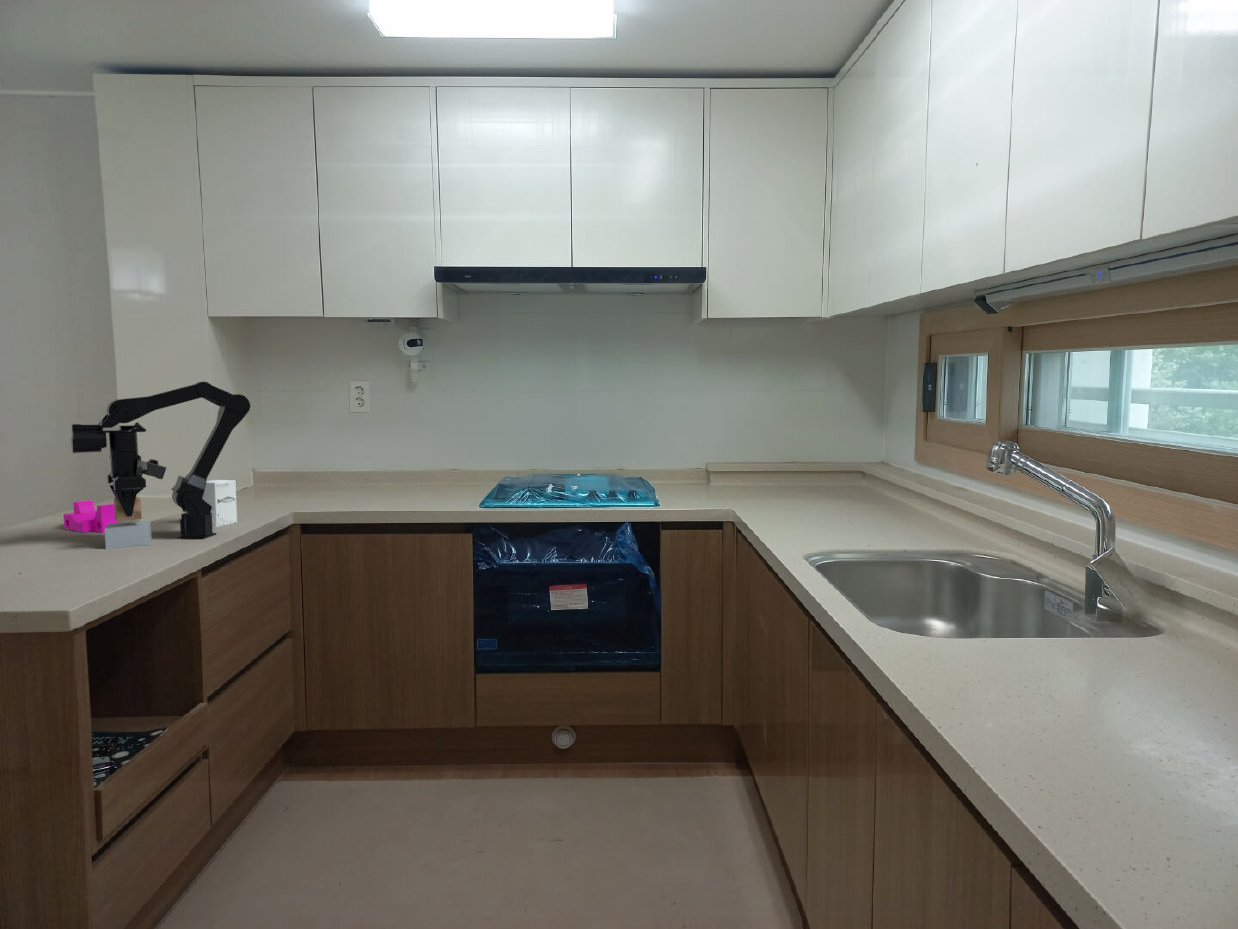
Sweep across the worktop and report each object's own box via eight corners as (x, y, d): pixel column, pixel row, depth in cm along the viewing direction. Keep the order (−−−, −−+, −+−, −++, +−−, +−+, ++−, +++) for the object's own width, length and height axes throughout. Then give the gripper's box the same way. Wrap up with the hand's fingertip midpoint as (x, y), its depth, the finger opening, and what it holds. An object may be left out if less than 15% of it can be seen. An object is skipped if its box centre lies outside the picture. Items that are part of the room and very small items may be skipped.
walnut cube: (138, 516, 188) (137, 496, 188) (141, 519, 184) (140, 498, 184) (114, 518, 185) (113, 498, 185) (117, 521, 181) (115, 500, 181)
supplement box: (216, 528, 207) (214, 482, 206) (196, 526, 210) (193, 481, 208) (238, 524, 214) (236, 480, 213) (218, 522, 216) (216, 479, 215)
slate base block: (151, 540, 191) (150, 520, 191) (150, 546, 184) (149, 526, 183) (109, 543, 187) (107, 523, 186) (105, 550, 179) (104, 529, 179)
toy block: (64, 530, 205) (62, 503, 204) (90, 527, 210) (88, 500, 210) (92, 535, 197) (90, 507, 197) (117, 532, 203) (116, 504, 202)
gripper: (168, 451, 181) (172, 516, 183) (156, 447, 196) (160, 507, 197) (113, 454, 174) (117, 520, 176) (104, 449, 189) (108, 511, 190)
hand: (128, 514), depth 185 cm, fingers closed on walnut cube, 5 cm apart
